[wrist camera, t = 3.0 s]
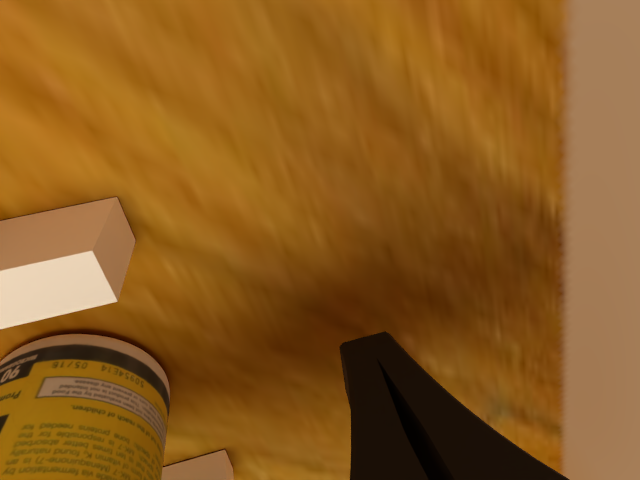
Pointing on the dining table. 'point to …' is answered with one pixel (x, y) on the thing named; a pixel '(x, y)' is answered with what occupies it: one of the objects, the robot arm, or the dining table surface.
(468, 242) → the dining table surface
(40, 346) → the supplement bottle
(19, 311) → the beige piece
